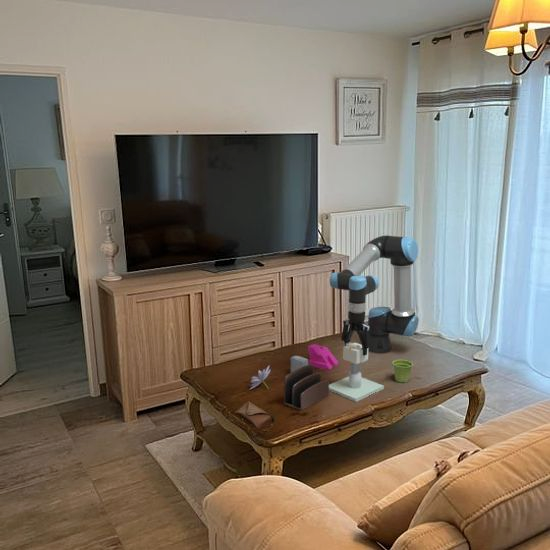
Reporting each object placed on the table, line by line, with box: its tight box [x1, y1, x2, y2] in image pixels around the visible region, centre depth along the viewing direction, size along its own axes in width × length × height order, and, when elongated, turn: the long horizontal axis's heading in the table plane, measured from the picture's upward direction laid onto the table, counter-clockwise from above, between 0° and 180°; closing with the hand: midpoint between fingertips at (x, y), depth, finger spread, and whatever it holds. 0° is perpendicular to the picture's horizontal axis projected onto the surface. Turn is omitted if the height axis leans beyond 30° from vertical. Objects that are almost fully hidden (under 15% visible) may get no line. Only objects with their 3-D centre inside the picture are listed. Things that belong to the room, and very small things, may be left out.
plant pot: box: [392, 359, 414, 383], centre depth 268 cm, size 9×9×9 cm
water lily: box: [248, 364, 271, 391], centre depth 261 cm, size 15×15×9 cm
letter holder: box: [283, 364, 330, 412], centre depth 247 cm, size 10×20×14 cm, turn 138°
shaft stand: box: [329, 362, 385, 403], centre depth 258 cm, size 20×18×15 cm
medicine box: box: [290, 355, 309, 373], centre depth 275 cm, size 8×4×9 cm, turn 47°
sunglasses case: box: [234, 400, 275, 429], centre depth 234 cm, size 18×7×7 cm
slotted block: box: [342, 342, 369, 364], centre depth 256 cm, size 8×8×6 cm
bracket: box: [307, 343, 339, 371], centre depth 287 cm, size 12×10×10 cm
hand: (355, 358), depth 256 cm, fingers closed on slotted block, 8 cm apart
